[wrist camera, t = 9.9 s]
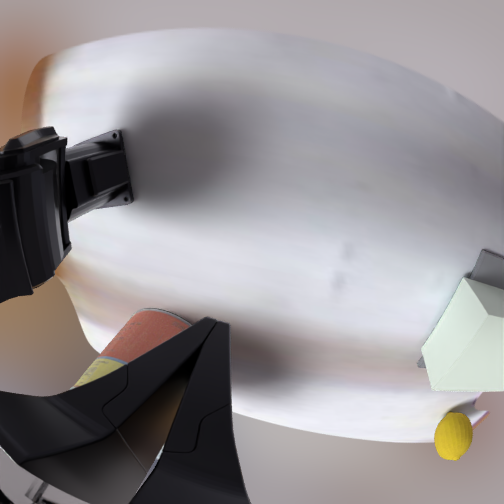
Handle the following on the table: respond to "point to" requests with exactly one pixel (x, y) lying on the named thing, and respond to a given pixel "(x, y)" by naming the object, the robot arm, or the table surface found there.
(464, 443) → the lemon
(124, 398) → the robot arm
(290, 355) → the table surface
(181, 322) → the canned food
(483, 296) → the sage block
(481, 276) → the mat
